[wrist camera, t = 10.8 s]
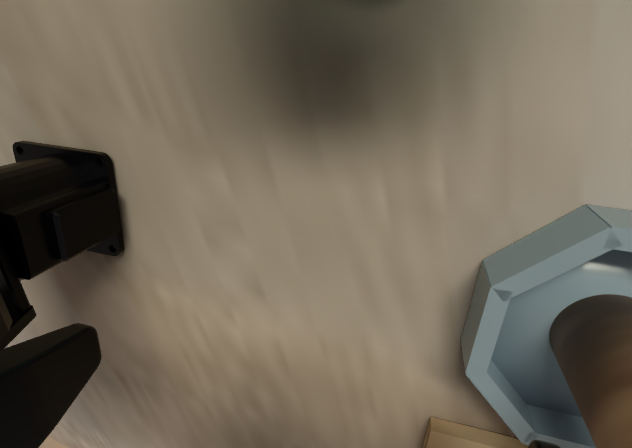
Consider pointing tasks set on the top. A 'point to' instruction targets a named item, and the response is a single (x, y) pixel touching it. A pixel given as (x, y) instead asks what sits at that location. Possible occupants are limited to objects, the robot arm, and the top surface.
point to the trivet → (465, 437)
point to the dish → (542, 318)
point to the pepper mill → (598, 364)
